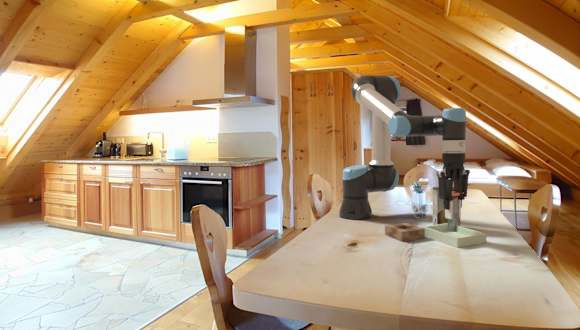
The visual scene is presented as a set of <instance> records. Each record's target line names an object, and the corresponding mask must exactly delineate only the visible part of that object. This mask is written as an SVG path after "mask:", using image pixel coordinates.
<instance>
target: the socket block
mask: <svg viewBox="0 0 580 330" xmlns="http://www.w3.org/2000/svg"><path fill="white" fill-rule="evenodd" d="M421 227H422V226H418V225H414V224H411V223H408V222H403V223H396V224H395V223H394V224H386V225H384V235H385V236H387V237H390V238H391V239H395V240H396V241H399V242H402V243H403V242H410V241H416V240H421V239H425V237H426V236H425V229H424V228H421Z"/></svg>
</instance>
